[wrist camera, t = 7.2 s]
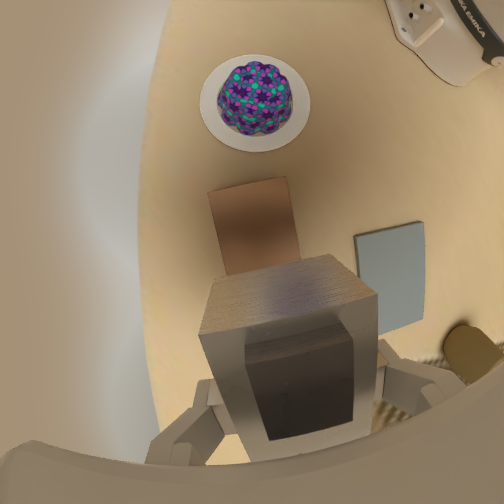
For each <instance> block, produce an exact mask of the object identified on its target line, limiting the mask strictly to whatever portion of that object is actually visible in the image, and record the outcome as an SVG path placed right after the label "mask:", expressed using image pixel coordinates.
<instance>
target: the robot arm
mask: <svg viewBox="0 0 504 504" xmlns="http://www.w3.org/2000/svg"><path fill="white" fill-rule="evenodd" d="M385 1H386V4H387V7H388V10H389V13H390V17H391V20H392V23H393V27H394V31H395V34H396V37H397V39H398V40H399V41H400V42H401V43H403V44H404V45H405V46H407V47H408V48H410V49H411V50H413V51H414V52H415V53H416V54H417V55H418V56H419V57H420V58H421V59H422V60H423V62H424V63H425V64H426V65H427V66H428V67H429V68H430V69H431V70H432V71H433V72H434V73H435V74H436V75H438V76H439V77H440V78H442V79H443V80H444V81H446V82H448V83H450V84H452V85H454V86H459V87H463V86H466V85H468V84H469V83H470V82H471V81H472V80H473V79H474V78H475V77H476V76H478V75H479V74H481V73H482V72H484V71H485V70H487V69H489V68H491V67H493V66H495V67H497V66H504V0H385ZM380 399H383V400H384V401H386V402H388V403H390V404H392V405H393V406H395V407H397V408H399V409H401V410H403V411H405V412H407V413H409V414H410V415H412V416H413V417H411V418H409V419H407V420H405V421H403V422H400V423H398V424H396V425H393V426H391V427H389V428H386V429H383V430H381V431H378V432H375V433H373V434H370V435H367V436H364V437H361V438H358V439H355V440H352V441H349V442H346V443H343V444H339V445H336V446H332V447H329V448H325V449H321V450H317V451H313V452H309V453H304V454H299V455H295V456H289V457H284V458H278V459H272V460H265V461H258V462H250V463H240V464H228V465H209V466H206V465H205V463H206V461H207V460H208V459H209V457H210V456H211V455H212V453H213V452H214V451H215V449H216V448H217V446H218V445H219V444H220V442H221V441H222V440H223V438H224V437H225V436H224V435H230V434H237V431H236V429H235V426H234V424H233V422H232V420H231V417H230V415H229V413H228V410H227V408H226V406H225V403H224V401H223V398H222V396H221V394H220V391H219V389H218V386H217V384H216V381H215V379H214V378H213V379H205V380H199V381H198V383H197V388H196V393H195V398H194V402H193V407H192V408H188V409H187V410H186V411H185V412H184V413H183V414H182V415H181V416H179V417H178V418H177V419H176V420H175V421H174V422H173V423H172V424H171V425H169V426H168V427H167V428H166V429H165V430H164V431H163V432H161V433H160V434H159V435H158V436H157V437H156V438H155V439H153V440H152V441H151V443H150V447H149V450H148V453H147V456H146V460H145V463H144V464H143V463H134V462H125V461H118V460H112V459H106V458H100V457H95V456H90V455H86V454H81V453H77V452H73V451H69V450H66V449H62V448H58V447H55V446H52V445H48V444H46V443H43V442H40V441H36V440H31V441H28V442H25V443H23V444H21V445H19V446H17V447H15V448H13V449H11V450H9V451H8V452H6V453H5V454H4V455H3V456H2V457H1V458H0V504H504V362H502V363H501V364H500V365H498V366H497V367H496V368H494V369H493V370H492V371H490V372H489V373H488V374H486V375H485V376H483V377H482V378H480V379H479V380H477V381H476V382H474V383H473V384H471V385H470V386H468V387H466V386H465V385H464V384H463V383H462V381H461V380H460V379H459V378H458V377H457V376H456V375H455V374H454V373H453V372H452V371H448V370H445V369H441V368H437V367H434V366H430V365H426V364H423V363H419V362H416V361H412V360H409V359H405V358H404V359H401V358H400V357H399V356H398V355H397V353H396V352H395V351H394V350H393V349H392V347H391V346H390V345H389V344H388V343H387V342H386V340H385V339H380V340H378V356H377V374H376V387H375V398H374V401H377V400H380Z"/></svg>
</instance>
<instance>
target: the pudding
mask: <svg viewBox="0 0 504 504" xmlns="http://www.w3.org/2000/svg"><path fill="white" fill-rule="evenodd" d="M225 81H226V82H225ZM224 82H225V84H224V86H223V88H222V89H221V91H220V93H219V96H218V92H219V90H220V88H221V86H222V85H223V83H224ZM291 93H292V95H291ZM217 96H218V98H217ZM292 96H293V111H292V114H291V105H290V101H291V100H292ZM217 101H218V105H219V106H220V107H221V108H222V109H223V111H222V118H223V120H224V122H225V123H227V124H228V125H230V126H237V128H238V130H239V131H240V132H241V133H243V134H245V135H243V134H240V133H238V132H236V131H234V130H232V129H231V128H229V127H228V126H227V125H226V124H225V123H224V122H223V120H222V119H221V117H220V115H219V112H218V109H217ZM310 107H311V103H310V95H309V91H308V88H307V86H306V84H305V82H304V80H303V79H302V77H301V76H300V75H299V74H298V73H297V72H296V71H295V70H294V69H293V68H292V67H291V66H289V65H288V64H287V63H285V62H283V61H281V60H279V59H277V58H274V57H270V56H266V55H260V54H249V55H242V56H238V57H235V58H232V59H229V60H227V61H225V62H223V63H222V64H221V65H219V66H218V67H216V68H215V69H214V70H213V71H212V72H211V73H210V75H209V76H208V77H207V79H206V80H205V82H204V85H203V87H202V89H201V94H200V112H201V116H202V118H203V121H204V123H205V125H206V126H207V128H208V129H209V131H210V132H211V133H212V134H213V135H214V136H215V137H216V138H217V139H218V140H220V141H221V142H222V143H224V144H226V145H228V146H230V147H232V148H235V149H238V150H241V151H247V152H265V151H271V150H274V149H277V148H280V147H282V146H284V145H286V144H288V143H289V142H291V141H292V140H293V139H294V138H296V137H297V136H298V134H299V133H300V132H301V131H302V130H303V128H304V126H305V125H306V123H307V120H308V117H309V114H310ZM290 114H291V116H290ZM289 117H290V118H289ZM288 118H289V120H288V121H287V119H288ZM283 121H287V123H286V124H285V125H284V126H283V127H282V128H280V129H279V130H278V131H276V132H274V131H275V130H277V129H278V126H279V123H280V122H283ZM257 132H262V133H265V134H268V133H272V132H274V133H272V134H269V135H265V136H246V135H254V134H255V133H257Z"/></svg>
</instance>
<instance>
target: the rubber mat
mask: <svg viewBox="0 0 504 504" xmlns="http://www.w3.org/2000/svg"><path fill="white" fill-rule="evenodd" d="M354 241H355V250H356V260H357V271H358V277H359V278H360V279H361V280H362V281H363V282H364V283H366V284H367V285H368V286H369V287H370V288H371V289H373V290H374V291H375V292H376V293H377V294H378V335H381V334H383V333H386V332H389V331H392V330H395V329H398V328H400V327H403V326H406V325H408V324H411V323H413V322H416V321H419V320H421V319H423V312H424V295H425V237H424V222H421V221H419V222H415V223H411V224H406V225H402V226H397V227H393V228H388V229H384V230H379V231H375V232H370V233H366V234H361V235H357V236H354Z"/></svg>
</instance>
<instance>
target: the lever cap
mask: <svg viewBox="0 0 504 504" xmlns="http://www.w3.org/2000/svg"><path fill="white" fill-rule="evenodd" d="M198 336H199V339H200V341H201V344H202V347H203V350H204V352H205V355H206V358H207V360H208V363H209V366H210V368H211V371H212V374H213V376H214V379H215V381H216V384H217V386H218V389H219V391H220V394H221V396H222V398H223V401H224V403H225V406H226V408H227V410H228V413H229V415H230V417H231V420H232V422H233V424H234V426H235V429H236V431H237V433H238V435H239V437H240V439H241V442H242V444H243V446H244V448H245V450H246V452H247V454H248V456H249V458H250V460H251V462H258V461H265V460H272V459H278V458H284V457H289V456H295V455H299V454H304V453H309V452H313V451H317V450H321V449H325V448H329V447H332V446H336V445H339V444H343V443H346V442H349V441H352V440H355V439H358V438H361V437H364V436H367V435H370V430H371V423H372V416H373V407H374V398H375V387H376V374H377V356H378V294H377V293H376V292H375V291H374V290H373V289H371V288H370V287H369V286H368V285H367V284H366V283H364V282H363V281H362V280H361V279H360V278H359V277H357V276H356V275H355V274H354V273H353V272H351V271H350V270H349V269H348V268H347V267H345V266H344V265H343V264H342V263H341V262H339V261H338V260H337V259H336V258H335V257H333V256H332V255H331V254H327V255H322V256H318V257H314V258H309V259H305V260H300V261H296V262H291V263H287V264H282V265H278V266H273V267H269V268H264V269H260V270H255V271H250V272H246V273H241V274H236V275H231V276H227V277H222V278H217V279H214V282H213V285H212V288H211V292H210V295H209V299H208V302H207V306H206V309H205V313H204V316H203V320H202V323H201V327H200V330H199V334H198Z"/></svg>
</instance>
